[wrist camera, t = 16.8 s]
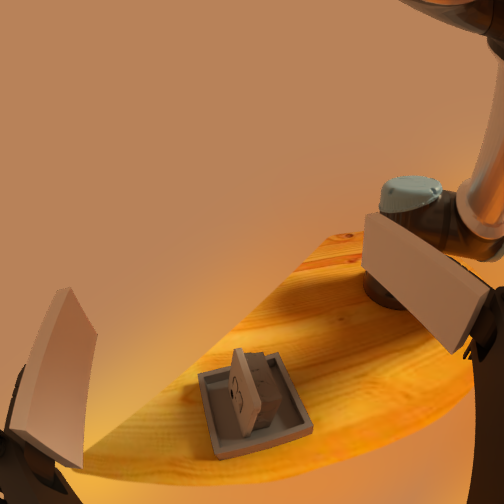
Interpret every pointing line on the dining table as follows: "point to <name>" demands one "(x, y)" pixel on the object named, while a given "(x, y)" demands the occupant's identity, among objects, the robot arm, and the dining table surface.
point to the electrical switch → (252, 391)
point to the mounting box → (225, 421)
